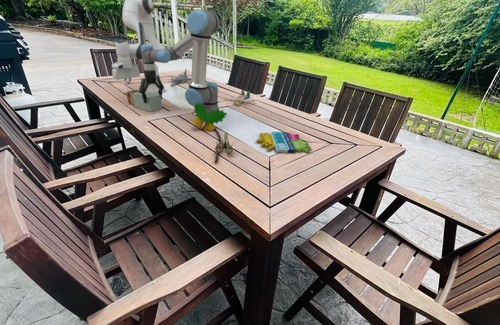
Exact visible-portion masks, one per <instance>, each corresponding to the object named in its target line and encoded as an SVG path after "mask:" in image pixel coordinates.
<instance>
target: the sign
mask: <svg viewBox="0 0 500 325" xmlns="http://www.w3.org/2000/svg"><path fill="white" fill-rule="evenodd" d="M299 136H300V135H299V134H298V133H296V134H294V133H291V132H287V131H270V132H264V133H263V132H260V133H259V139H258V138H257V139H256V143H257V144H261V148H263V147H264V148H265V149H267V151H268V152H271V151H272V150H273V149H275V152H276V153H283V154H285V153H287V154H288V153H290V154H293V153H296V152H298V153H301V152H305V153H310V151H311V150H312V149H311V148H312V146H309V142H304V141H303V139H302V138H299Z"/></svg>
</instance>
